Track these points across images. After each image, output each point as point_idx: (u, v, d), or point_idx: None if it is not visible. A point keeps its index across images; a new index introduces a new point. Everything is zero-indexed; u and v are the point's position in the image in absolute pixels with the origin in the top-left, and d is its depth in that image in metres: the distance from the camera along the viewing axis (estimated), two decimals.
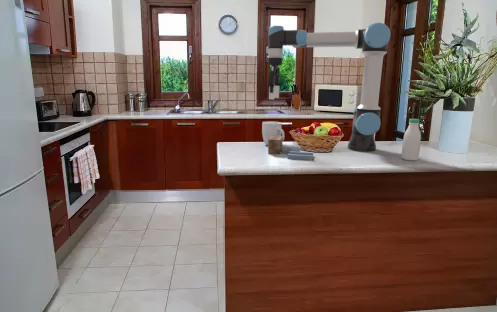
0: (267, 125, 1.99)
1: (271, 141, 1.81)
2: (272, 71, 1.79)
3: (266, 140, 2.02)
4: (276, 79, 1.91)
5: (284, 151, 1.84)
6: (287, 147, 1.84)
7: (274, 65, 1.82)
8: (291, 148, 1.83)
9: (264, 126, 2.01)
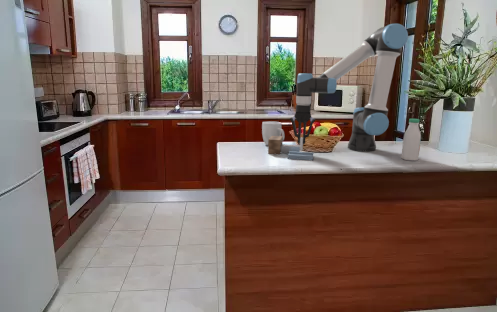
0: (267, 125, 1.99)
1: (271, 141, 1.81)
2: (292, 122, 1.82)
3: (266, 140, 2.02)
4: (303, 128, 1.82)
5: (283, 151, 1.85)
6: (287, 147, 1.84)
7: None
8: (291, 147, 1.84)
9: (264, 126, 2.01)
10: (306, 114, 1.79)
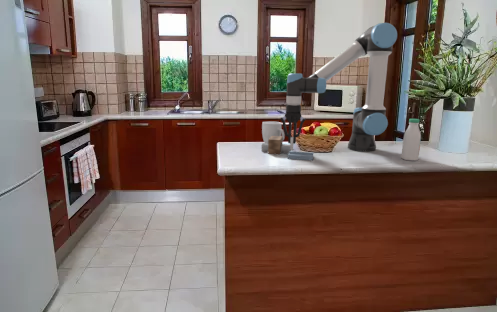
0: (267, 125, 1.99)
1: (271, 141, 1.81)
2: (282, 122, 1.83)
3: (266, 140, 2.02)
4: None
5: None
6: None
7: (286, 112, 1.81)
8: (281, 147, 1.85)
9: (264, 126, 2.01)
10: (296, 114, 1.80)
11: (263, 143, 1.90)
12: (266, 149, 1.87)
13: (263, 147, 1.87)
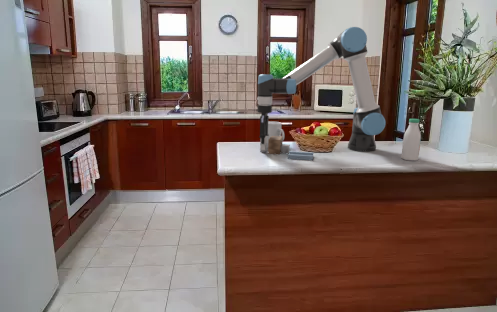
0: None
1: (271, 141, 1.81)
2: (262, 123, 1.80)
3: None
4: None
5: None
6: None
7: (264, 113, 1.81)
8: None
9: None
10: (267, 114, 1.86)
11: None
12: (265, 149, 1.86)
13: None
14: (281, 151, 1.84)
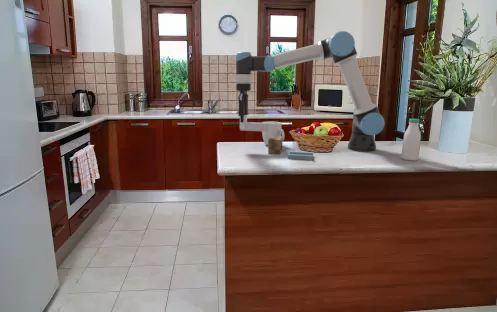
0: None
1: (271, 141, 1.81)
2: (241, 101, 1.79)
3: (266, 140, 2.02)
4: None
5: (252, 128, 1.85)
6: (256, 124, 1.84)
7: (242, 91, 1.80)
8: (260, 125, 1.84)
9: None
10: (246, 92, 1.86)
11: None
12: None
13: None
14: (261, 129, 1.84)
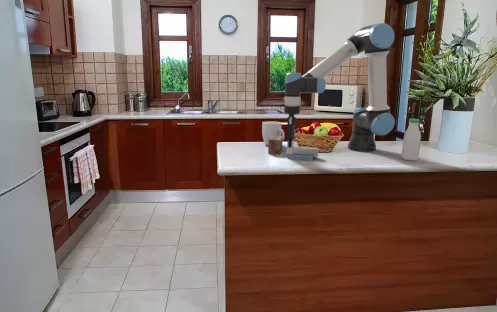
0: (267, 125, 1.99)
1: (271, 141, 1.81)
2: (290, 125, 1.67)
3: (266, 140, 2.02)
4: None
5: (301, 154, 1.73)
6: (304, 149, 1.72)
7: (291, 114, 1.68)
8: (309, 150, 1.72)
9: (264, 126, 2.01)
10: (294, 115, 1.73)
11: None
12: None
13: None
14: None
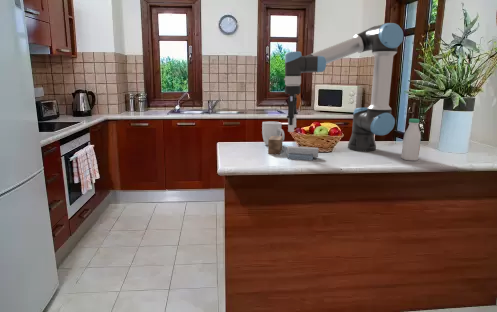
0: (267, 125, 1.99)
1: (271, 141, 1.81)
2: (291, 101, 1.63)
3: (266, 140, 2.02)
4: (293, 108, 1.75)
5: (301, 154, 1.73)
6: (304, 149, 1.72)
7: (292, 94, 1.66)
8: (309, 150, 1.72)
9: (264, 126, 2.01)
10: (295, 97, 1.71)
11: (288, 146, 1.77)
12: (292, 152, 1.74)
13: (289, 150, 1.74)
14: None
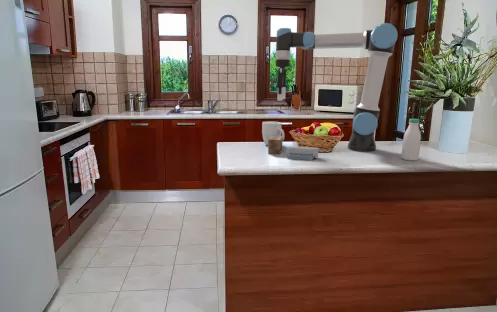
0: (267, 125, 1.99)
1: (271, 141, 1.81)
2: (280, 73, 1.82)
3: (266, 140, 2.02)
4: (283, 80, 1.94)
5: (301, 154, 1.73)
6: (304, 149, 1.72)
7: (282, 67, 1.84)
8: (309, 150, 1.72)
9: (264, 126, 2.01)
10: (284, 70, 1.90)
11: (288, 146, 1.77)
12: (292, 152, 1.74)
13: (289, 150, 1.74)
14: None
